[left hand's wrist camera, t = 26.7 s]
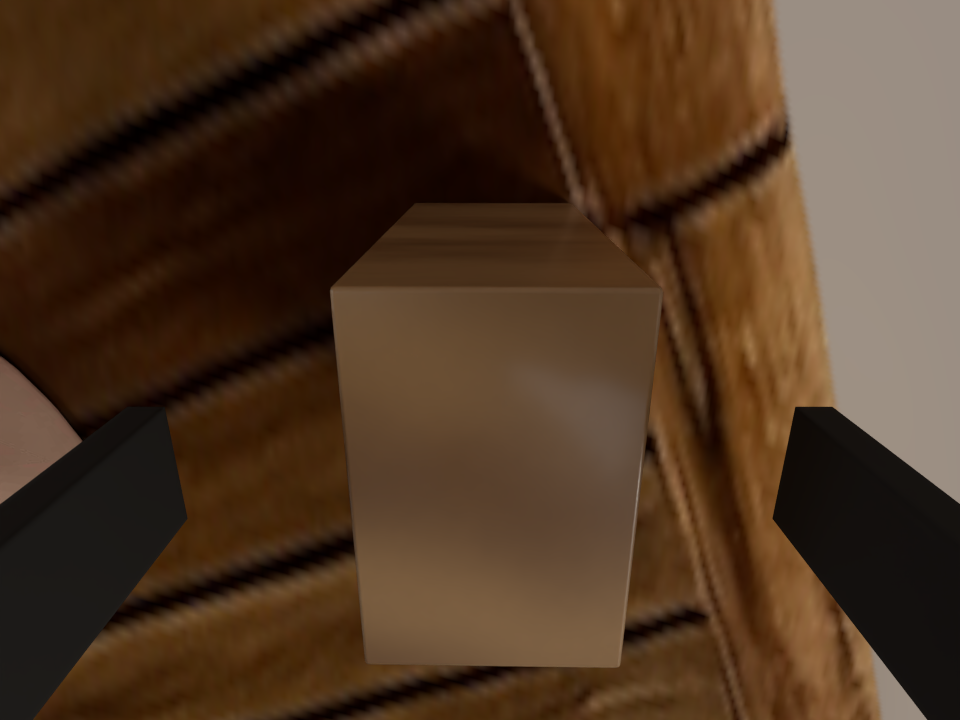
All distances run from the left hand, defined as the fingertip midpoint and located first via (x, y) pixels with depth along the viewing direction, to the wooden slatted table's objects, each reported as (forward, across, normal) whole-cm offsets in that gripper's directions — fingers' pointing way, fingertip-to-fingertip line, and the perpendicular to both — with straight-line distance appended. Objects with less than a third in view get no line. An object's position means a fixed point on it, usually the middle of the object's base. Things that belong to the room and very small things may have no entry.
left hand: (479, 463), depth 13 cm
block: (+9, 0, -1) cm, 9 cm away
